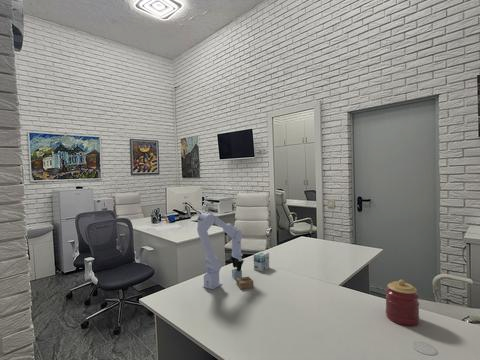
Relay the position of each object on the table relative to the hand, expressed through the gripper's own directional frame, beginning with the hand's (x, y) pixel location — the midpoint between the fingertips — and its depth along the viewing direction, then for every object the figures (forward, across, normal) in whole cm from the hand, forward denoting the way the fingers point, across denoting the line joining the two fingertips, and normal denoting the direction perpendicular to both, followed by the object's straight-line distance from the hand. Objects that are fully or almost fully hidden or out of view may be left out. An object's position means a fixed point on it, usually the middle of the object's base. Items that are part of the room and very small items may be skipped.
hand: (236, 269), depth 171 cm
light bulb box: (+6, +9, -22) cm, 24 cm away
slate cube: (+6, 0, 0) cm, 6 cm away
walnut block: (+6, -14, 0) cm, 15 cm away
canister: (+6, -74, -53) cm, 91 cm away
